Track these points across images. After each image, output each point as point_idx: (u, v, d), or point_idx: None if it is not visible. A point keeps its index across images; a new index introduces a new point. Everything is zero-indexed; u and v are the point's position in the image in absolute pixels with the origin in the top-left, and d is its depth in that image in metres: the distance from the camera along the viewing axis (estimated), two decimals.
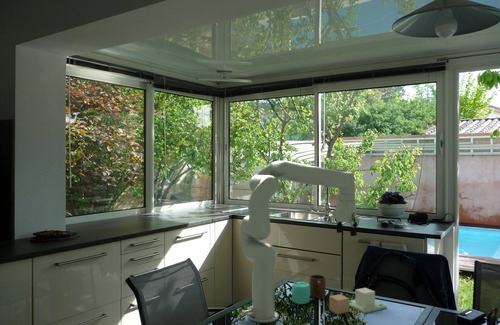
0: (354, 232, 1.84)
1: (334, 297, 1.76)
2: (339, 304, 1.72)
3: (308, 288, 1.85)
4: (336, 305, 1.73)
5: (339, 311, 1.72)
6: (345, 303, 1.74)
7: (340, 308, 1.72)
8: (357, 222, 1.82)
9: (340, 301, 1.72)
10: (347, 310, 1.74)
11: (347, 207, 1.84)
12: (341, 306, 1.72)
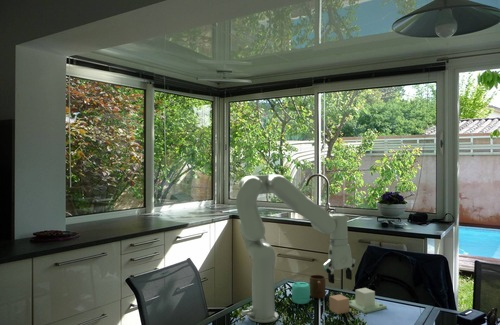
0: None
1: (334, 297, 1.76)
2: (339, 304, 1.72)
3: (308, 288, 1.85)
4: (336, 305, 1.73)
5: (339, 311, 1.72)
6: (345, 303, 1.73)
7: (340, 308, 1.72)
8: None
9: (340, 301, 1.72)
10: (347, 310, 1.74)
11: (349, 251, 1.75)
12: (341, 306, 1.72)
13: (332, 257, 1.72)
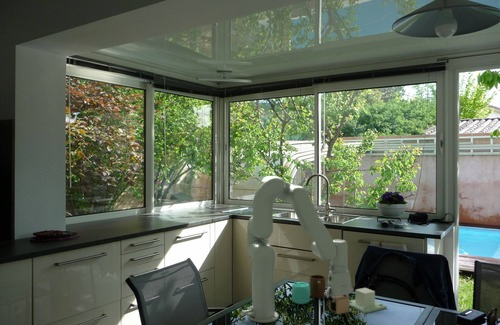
0: None
1: None
2: (339, 304, 1.72)
3: (308, 288, 1.85)
4: (336, 304, 1.73)
5: (339, 311, 1.72)
6: (345, 302, 1.74)
7: (340, 308, 1.72)
8: (351, 292, 1.78)
9: (340, 301, 1.72)
10: (347, 310, 1.74)
11: (349, 277, 1.75)
12: (341, 306, 1.72)
13: (332, 283, 1.72)
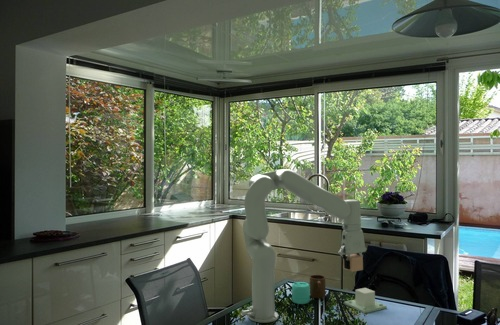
0: None
1: None
2: (353, 262, 1.75)
3: (308, 288, 1.85)
4: (350, 262, 1.75)
5: (353, 268, 1.75)
6: (359, 260, 1.76)
7: (354, 265, 1.75)
8: (364, 251, 1.81)
9: (354, 259, 1.75)
10: (361, 268, 1.77)
11: (362, 236, 1.78)
12: (355, 264, 1.75)
13: (345, 242, 1.75)
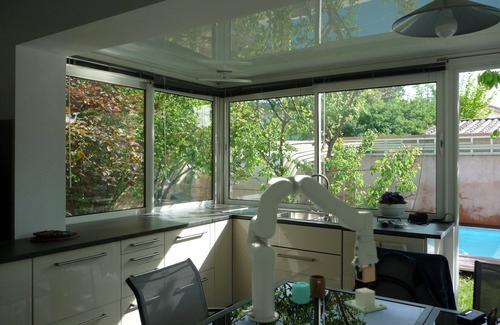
0: None
1: None
2: (366, 272, 1.77)
3: (308, 288, 1.85)
4: (362, 273, 1.78)
5: (366, 279, 1.77)
6: (371, 271, 1.79)
7: (367, 276, 1.78)
8: (376, 262, 1.84)
9: (367, 270, 1.78)
10: (373, 279, 1.79)
11: (375, 247, 1.81)
12: (367, 275, 1.78)
13: (358, 253, 1.78)
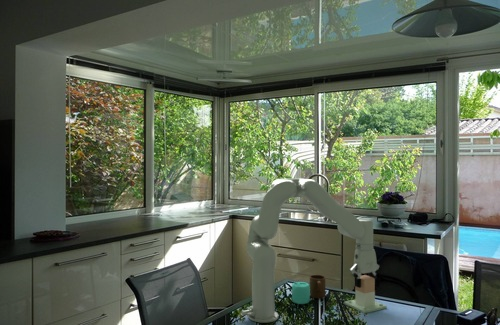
0: None
1: (360, 277, 1.81)
2: (365, 283, 1.77)
3: (308, 288, 1.85)
4: (362, 284, 1.78)
5: (366, 290, 1.77)
6: (371, 282, 1.79)
7: (366, 287, 1.78)
8: (377, 269, 1.84)
9: (366, 281, 1.78)
10: (373, 289, 1.79)
11: (375, 255, 1.81)
12: (367, 286, 1.78)
13: (358, 261, 1.78)
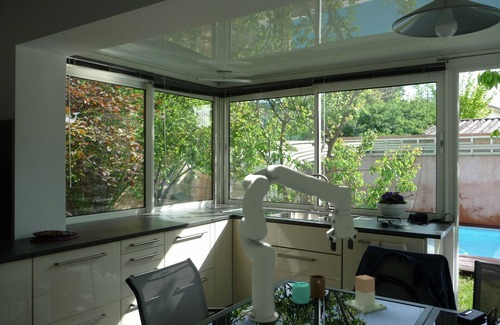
0: None
1: (360, 277, 1.81)
2: (365, 283, 1.77)
3: (308, 288, 1.85)
4: (362, 284, 1.78)
5: (366, 290, 1.77)
6: (371, 282, 1.79)
7: (366, 287, 1.78)
8: (356, 234, 1.87)
9: (366, 281, 1.78)
10: (373, 289, 1.79)
11: (352, 221, 1.84)
12: (367, 286, 1.78)
13: (335, 226, 1.81)
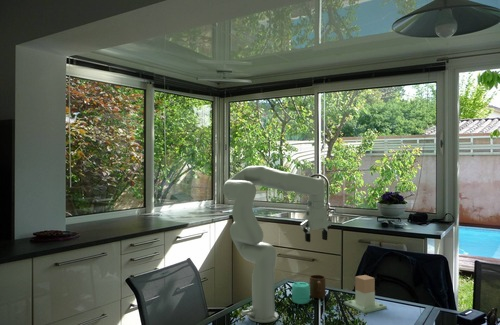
0: None
1: (360, 277, 1.81)
2: (365, 283, 1.77)
3: (308, 288, 1.85)
4: (362, 284, 1.78)
5: (366, 290, 1.77)
6: (371, 282, 1.79)
7: (366, 287, 1.78)
8: (330, 225, 1.92)
9: (366, 281, 1.78)
10: (373, 289, 1.79)
11: (326, 212, 1.88)
12: (367, 286, 1.78)
13: (309, 217, 1.85)
